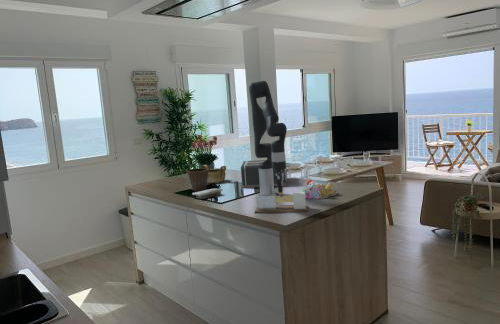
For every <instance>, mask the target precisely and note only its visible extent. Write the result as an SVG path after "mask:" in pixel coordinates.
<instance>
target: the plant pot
mask: <svg viewBox="0 0 500 324" xmlns="http://www.w3.org/2000/svg"><path fill="white" fill-rule="evenodd" d="M186 172H187V175H188V179H189V183H190V185H191V187H192V190H193V191H194V192H200V191H204V190H207V185H208V182H207V179H208V169H207V168H202V167H201V168H200V167H199V168H198V167H197V168H192V169H188V170H187V171H186Z"/></svg>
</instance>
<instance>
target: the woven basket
mask: <svg viewBox="0 0 500 324" xmlns="http://www.w3.org/2000/svg"><path fill="white" fill-rule="evenodd" d="M201 168H207V169H208V179H207V184H218V183H219V184H220V183H223V181H225V180H226V175H227V174H226V170H227V165H221V166H220V168H209V166H208V165H207V164H203V165H202V166H201Z"/></svg>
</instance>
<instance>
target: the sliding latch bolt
mask: <svg viewBox="0 0 500 324" xmlns="http://www.w3.org/2000/svg"><path fill="white" fill-rule="evenodd" d="M278 183H280V182H278ZM283 194H284V186H283V185H282V193H279V192H278V195H276V196H275V203H276V204H278V203H294V200H293V194H292V195H283Z"/></svg>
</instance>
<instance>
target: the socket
mask: <svg viewBox="0 0 500 324" xmlns="http://www.w3.org/2000/svg"><path fill="white" fill-rule="evenodd" d="M292 195H293V200H294V202H293V205H294V209H305V208H306V205H307V204H306V202H307V201H306V198H305V192H300V191H294V192H293V193H292Z"/></svg>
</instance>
